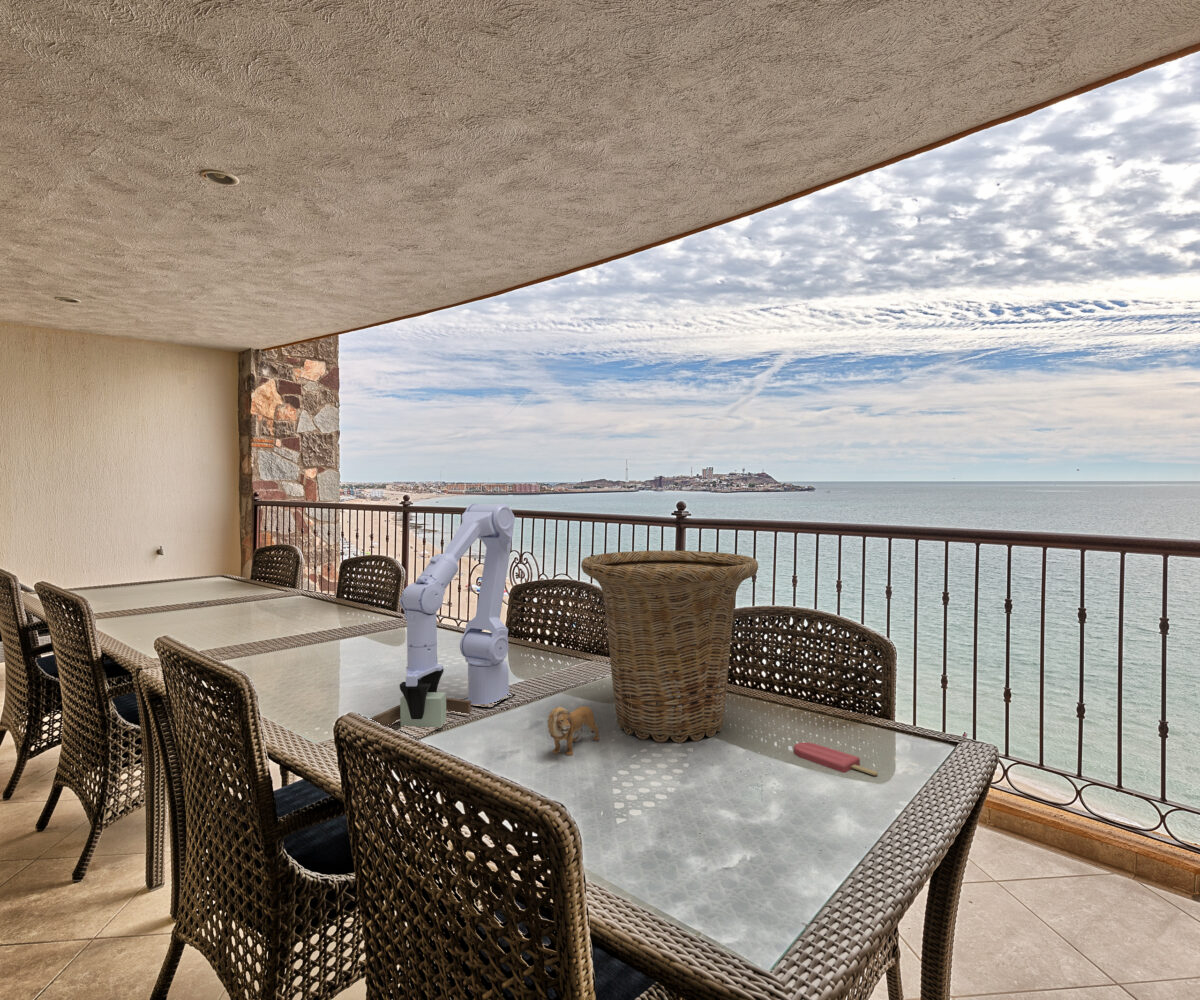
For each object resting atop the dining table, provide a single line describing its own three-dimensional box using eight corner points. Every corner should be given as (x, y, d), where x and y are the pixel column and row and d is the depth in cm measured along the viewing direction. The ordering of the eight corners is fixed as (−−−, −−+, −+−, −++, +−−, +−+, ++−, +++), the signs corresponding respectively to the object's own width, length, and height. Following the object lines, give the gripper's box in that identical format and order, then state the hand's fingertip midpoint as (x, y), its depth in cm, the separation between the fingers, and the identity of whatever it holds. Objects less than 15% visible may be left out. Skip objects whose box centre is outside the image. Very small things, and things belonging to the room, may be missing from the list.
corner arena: (422, 708, 144) (421, 694, 144) (471, 715, 139) (471, 701, 139) (370, 733, 129) (370, 718, 129) (423, 742, 124) (423, 726, 124)
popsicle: (868, 774, 107) (787, 746, 118) (868, 783, 107) (787, 755, 118) (884, 764, 110) (804, 739, 121) (884, 774, 110) (804, 747, 121)
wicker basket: (761, 702, 145) (761, 551, 145) (754, 768, 112) (754, 571, 111) (607, 690, 155) (606, 549, 154) (558, 747, 121) (557, 566, 121)
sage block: (407, 721, 134) (406, 692, 134) (446, 721, 134) (446, 692, 134) (400, 728, 130) (400, 698, 130) (441, 729, 130) (440, 698, 130)
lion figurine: (566, 765, 114) (566, 713, 113) (540, 759, 116) (539, 708, 116) (605, 736, 127) (604, 689, 126) (580, 732, 129) (580, 686, 129)
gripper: (431, 653, 124) (432, 724, 125) (451, 635, 139) (452, 700, 139) (394, 653, 124) (395, 724, 125) (418, 635, 139) (418, 700, 139)
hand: (422, 711), depth 132 cm, fingers open, 7 cm apart
